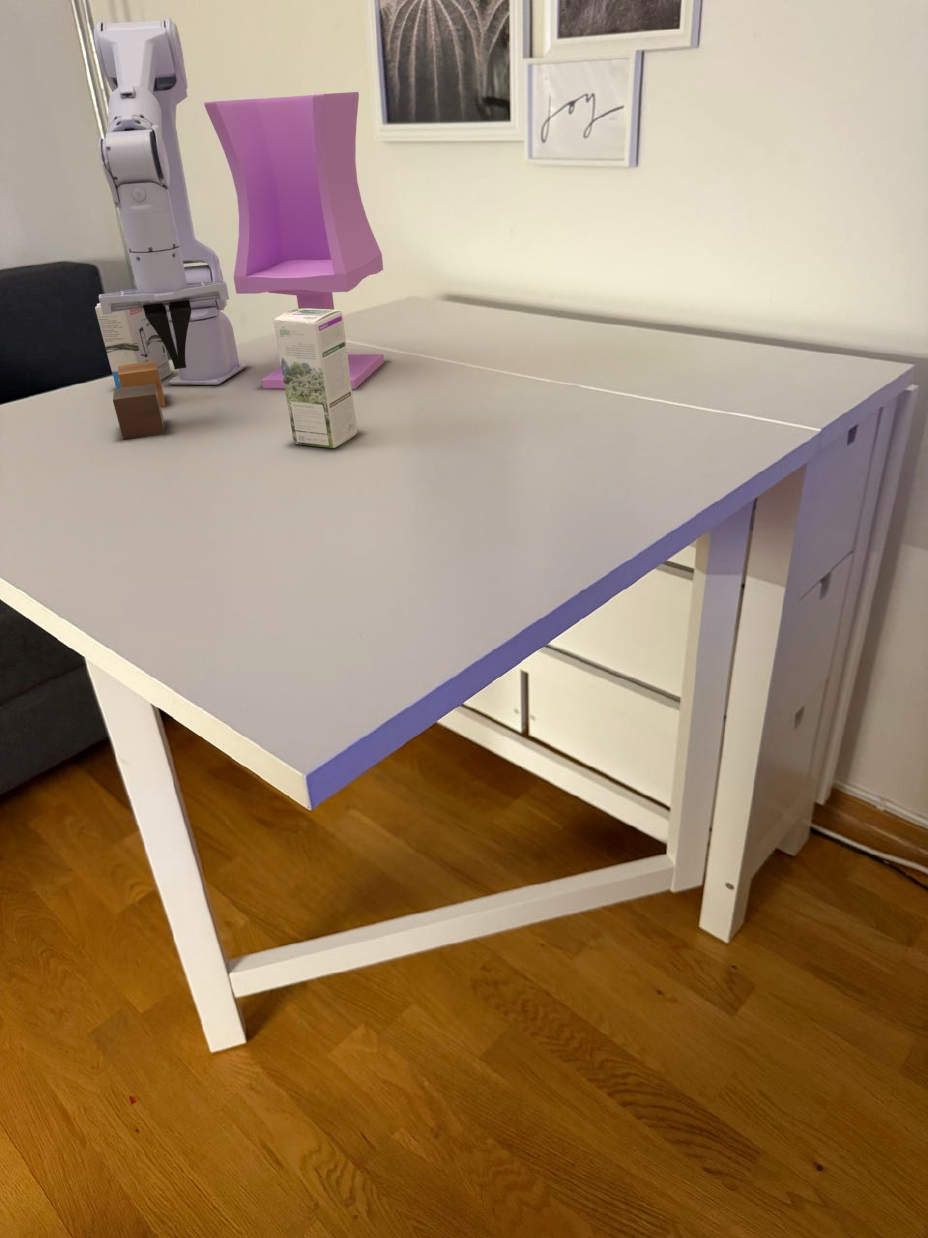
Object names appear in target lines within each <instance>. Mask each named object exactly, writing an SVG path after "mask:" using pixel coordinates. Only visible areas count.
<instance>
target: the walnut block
mask: <svg viewBox="0 0 928 1238" xmlns="http://www.w3.org/2000/svg"><path fill="white" fill-rule="evenodd" d="M112 402H113V407H114V410H115V414H116V418H117V421H118V424H119V425H118V426H119V430H120V434H121V437H122V440H129V439H136V438H143V437H150V436H157V435H164V434H166V428H165V417H164V414H163V410H162V407H161V405H160V401H159V397H158V392H157V388H156V384H148V385H140V386H133V387H125V388H118V389H116V388H114V389H113V396H112Z"/></svg>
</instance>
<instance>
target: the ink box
mask: <svg viewBox="0 0 928 1238" xmlns="http://www.w3.org/2000/svg"><path fill="white" fill-rule="evenodd" d="M149 302H152V301H149ZM94 309H95V313H96V317H97V321H98V325H99V328H100V332H101V337H102V339H103V344H104V348H105V351H106V356H107V359H108V362H109V366H110V370H111V373H112V378H113V383H114V385H115V389H118V388H121V385H120V381H119V377H118V366H119V365H126V364H134V363H142V362H149V361H156V363H157V367H158V371H159V376H160V380H161V381H162V380H164V379H165V378H167V377H168V376H170V375H172V370H171V369H172V368H171V365H170V361H169V355H168V351H167V349H166V347H165V345H164V343H163V342H162V340H161V338H160V337H159V335H158V334H157V332H156V331H155V329H154V328H153V327H152V325H151V324H150V323H149V321H148V320H147V318H146V317H145V312H144V308H143V309H134V310H126V311H117V312H113V313H110V314H103V313H102V309H101V305H100V302H98V303H96V306H95V307H94Z"/></svg>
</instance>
